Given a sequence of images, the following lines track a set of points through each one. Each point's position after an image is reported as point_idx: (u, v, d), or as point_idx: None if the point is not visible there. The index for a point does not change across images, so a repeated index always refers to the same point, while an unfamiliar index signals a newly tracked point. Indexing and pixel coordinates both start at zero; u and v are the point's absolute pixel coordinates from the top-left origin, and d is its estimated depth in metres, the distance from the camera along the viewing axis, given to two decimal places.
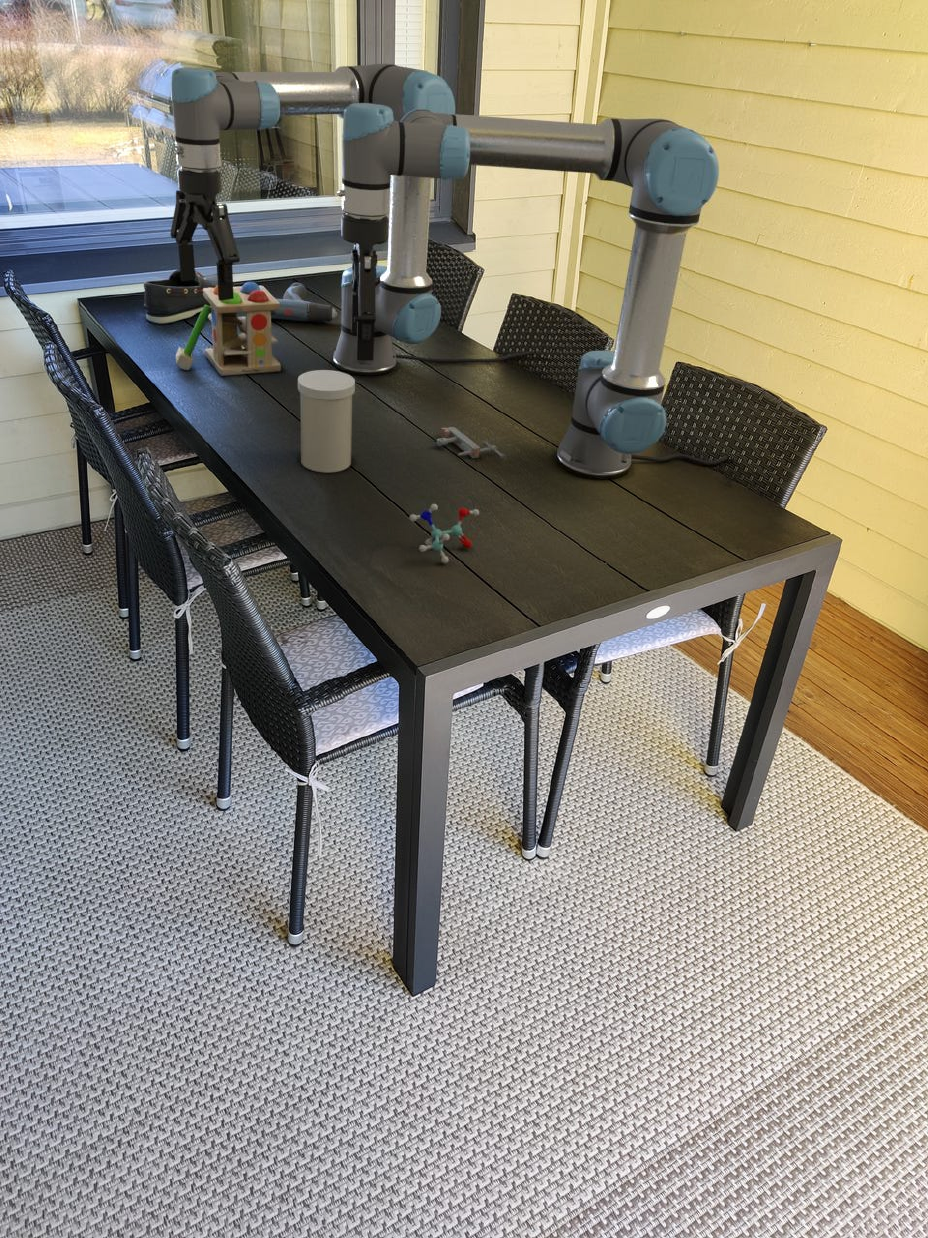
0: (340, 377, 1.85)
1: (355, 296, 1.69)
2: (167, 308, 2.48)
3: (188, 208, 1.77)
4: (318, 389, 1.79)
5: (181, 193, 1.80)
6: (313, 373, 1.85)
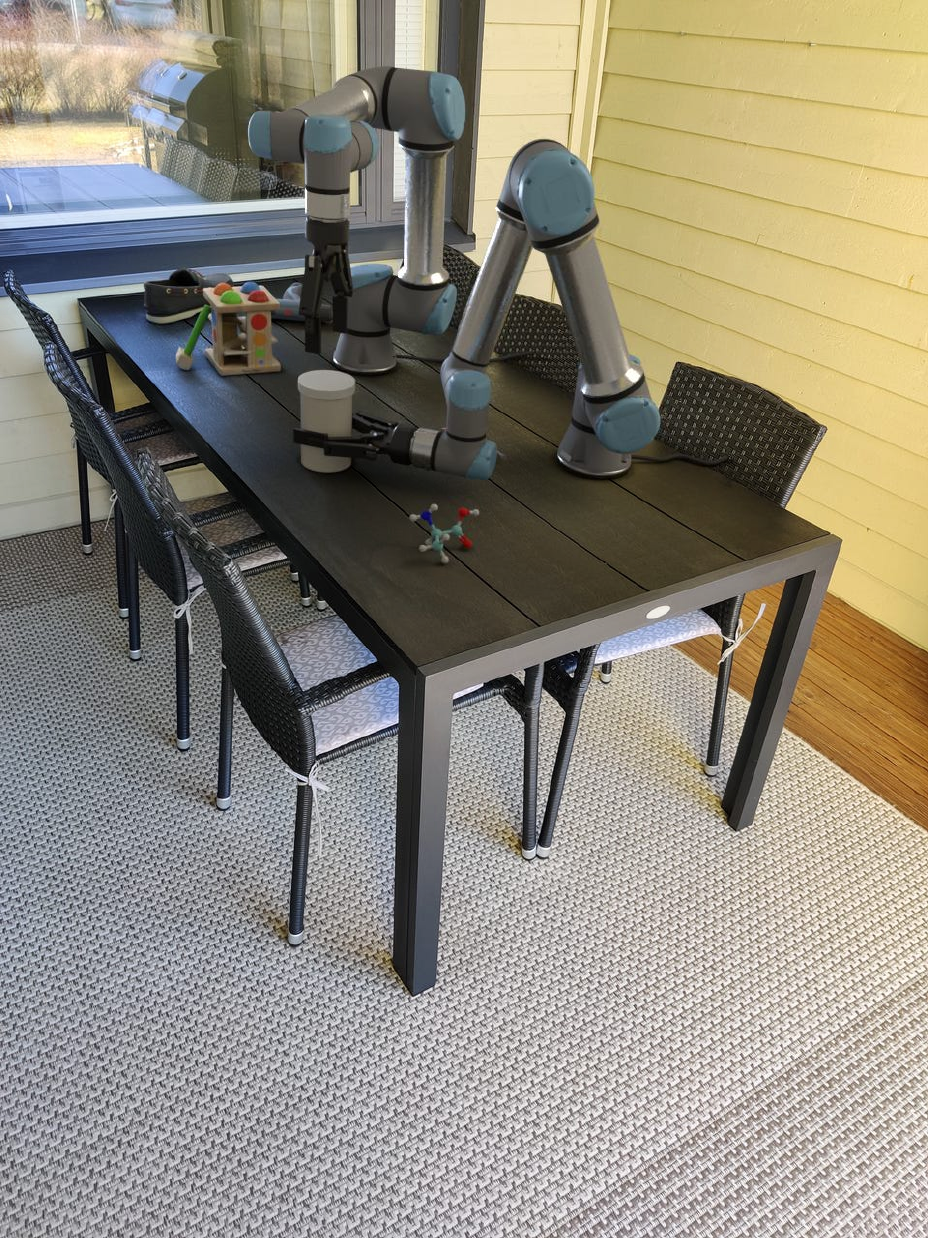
0: (340, 377, 1.85)
1: None
2: (167, 308, 2.48)
3: None
4: (318, 389, 1.79)
5: None
6: (313, 373, 1.85)
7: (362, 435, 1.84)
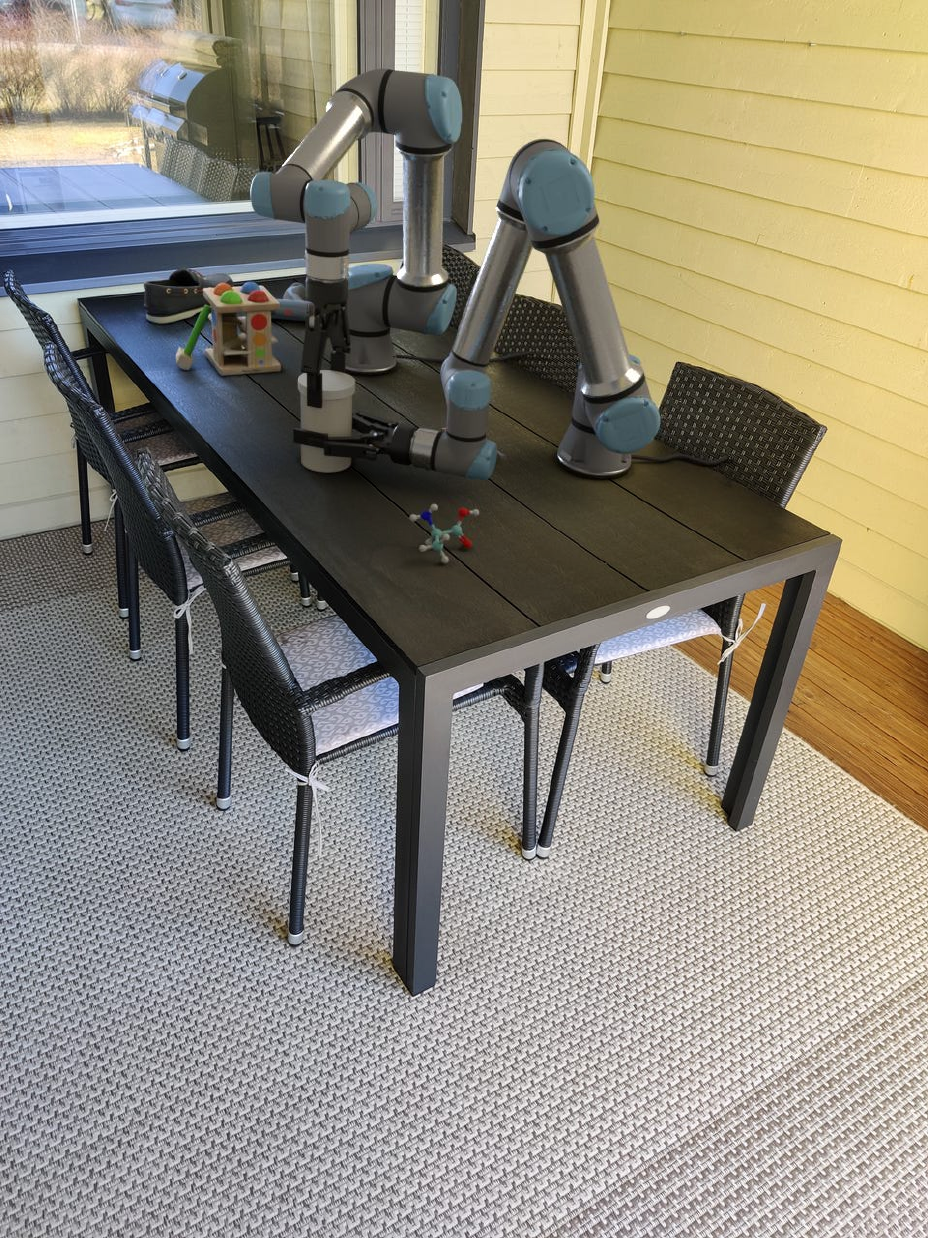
0: (340, 377, 1.85)
1: None
2: (167, 308, 2.48)
3: None
4: None
5: None
6: None
7: (362, 435, 1.84)
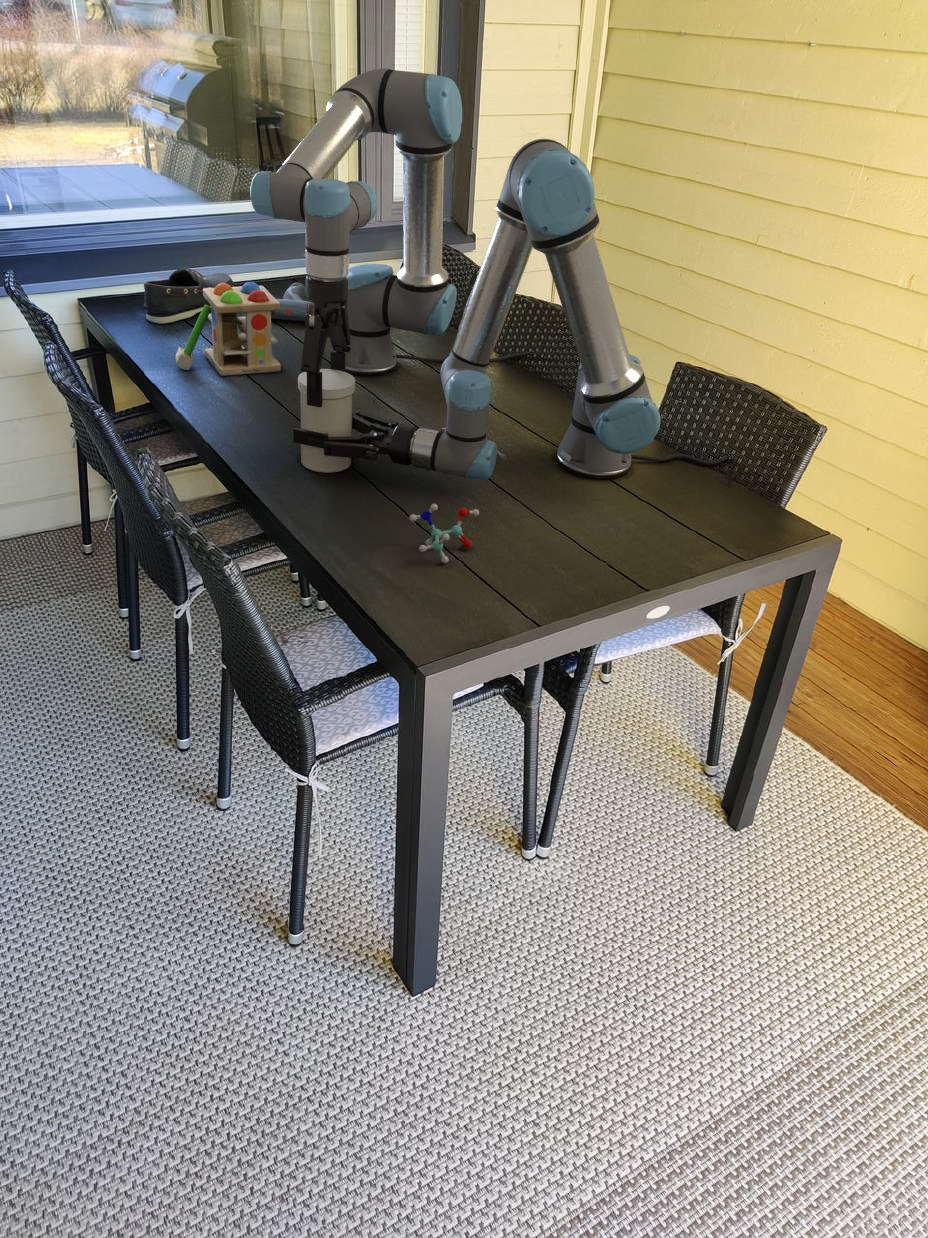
0: None
1: None
2: (167, 308, 2.48)
3: None
4: (350, 375, 1.85)
5: None
6: (323, 386, 1.80)
7: (362, 435, 1.84)
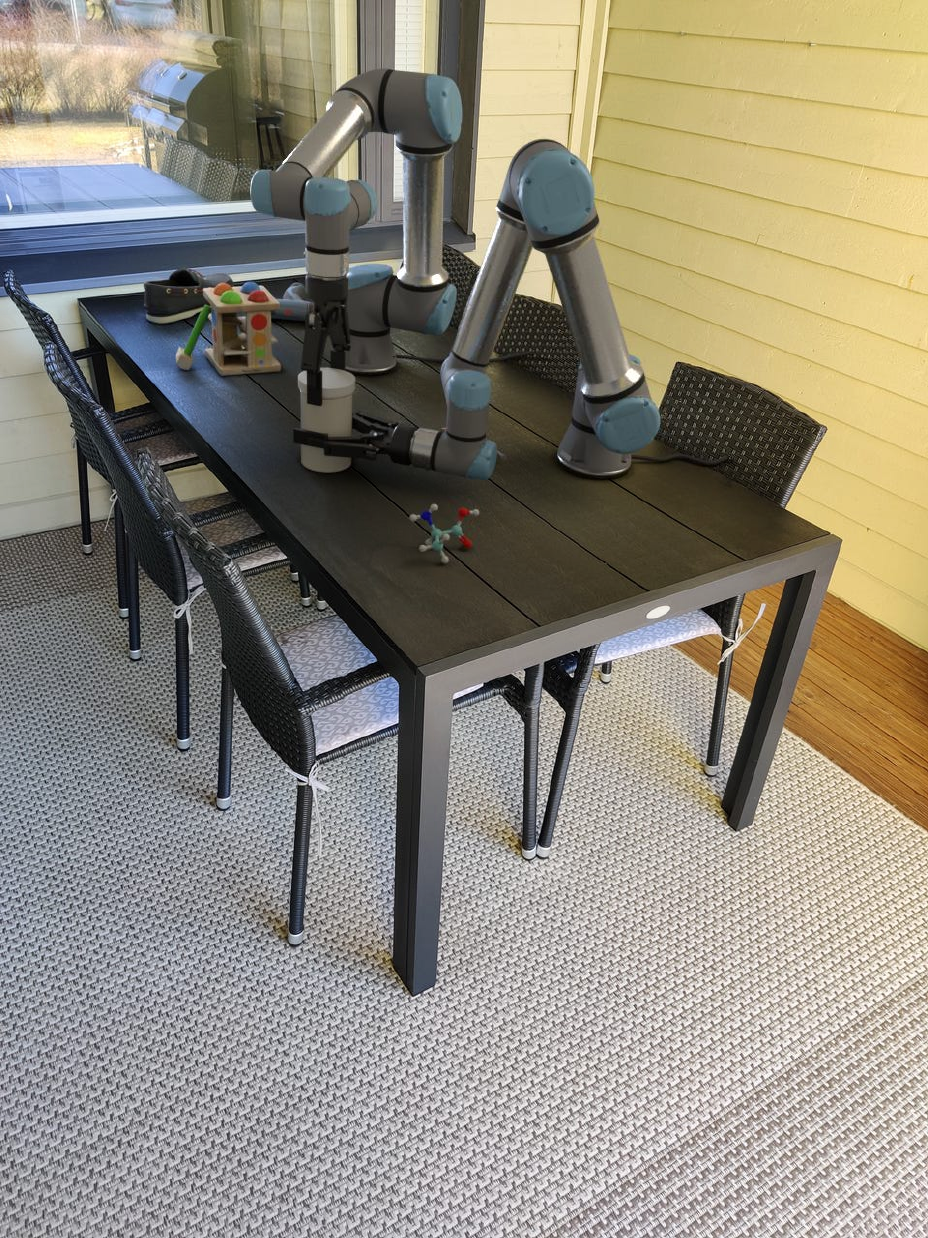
0: (334, 383, 1.81)
1: None
2: (167, 308, 2.48)
3: None
4: (301, 373, 1.84)
5: None
6: (344, 374, 1.85)
7: (362, 435, 1.84)
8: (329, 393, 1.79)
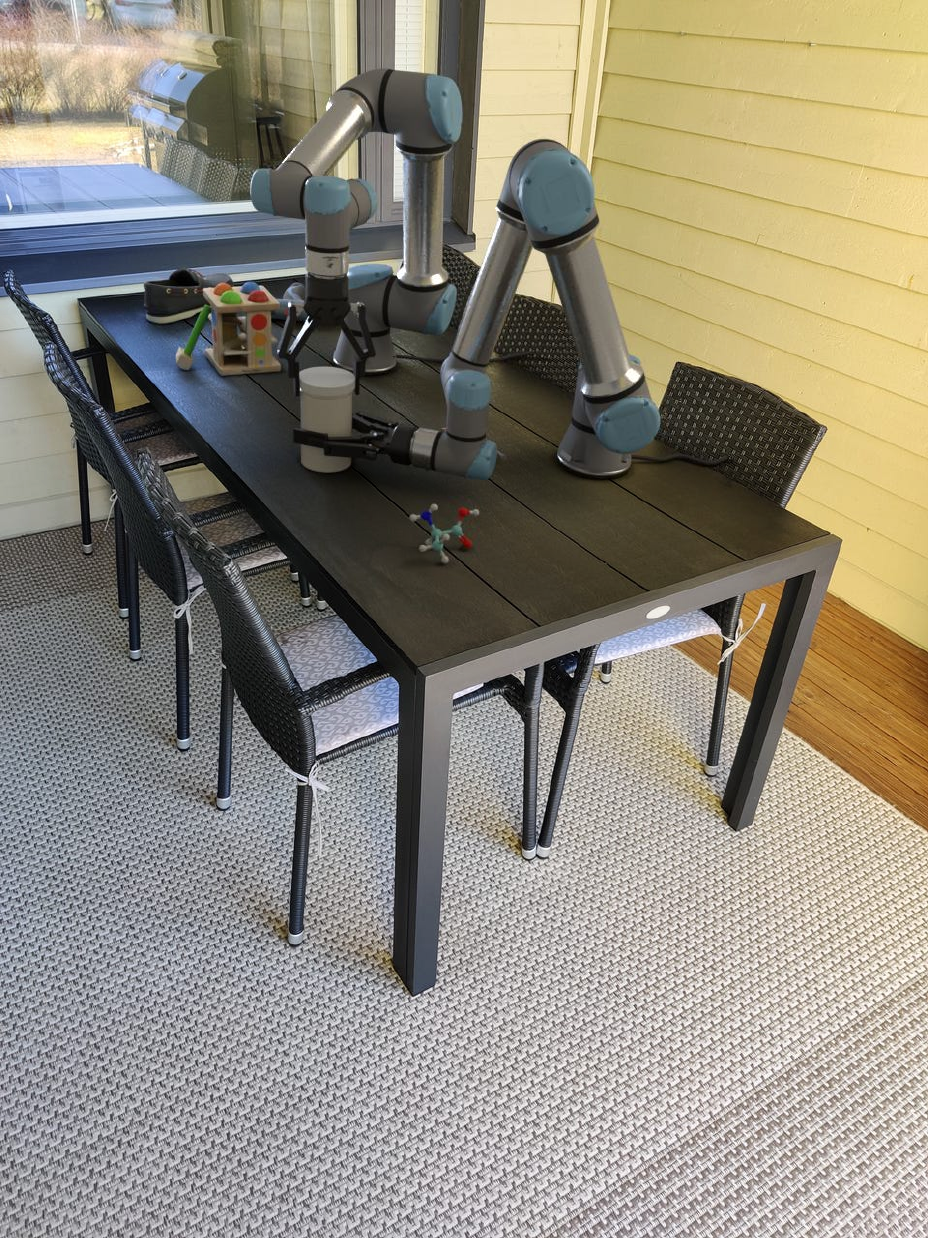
0: (334, 371, 1.85)
1: None
2: (167, 308, 2.48)
3: (322, 315, 1.74)
4: (331, 386, 1.79)
5: (295, 306, 1.73)
6: (307, 372, 1.84)
7: (362, 435, 1.84)
8: None
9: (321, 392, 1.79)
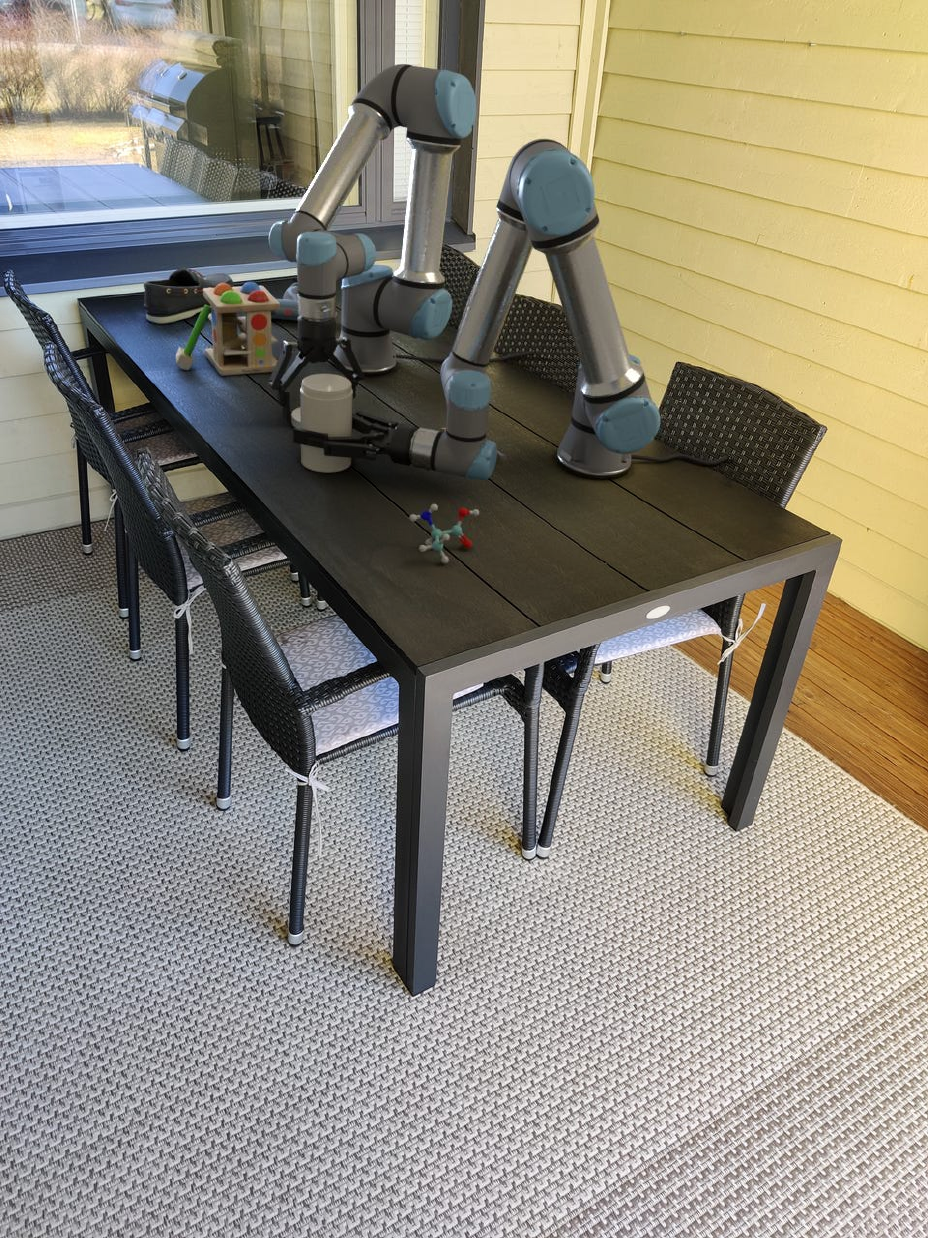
0: None
1: None
2: (167, 308, 2.48)
3: (314, 353, 1.97)
4: None
5: None
6: (298, 412, 2.07)
7: (362, 435, 1.84)
8: None
9: None
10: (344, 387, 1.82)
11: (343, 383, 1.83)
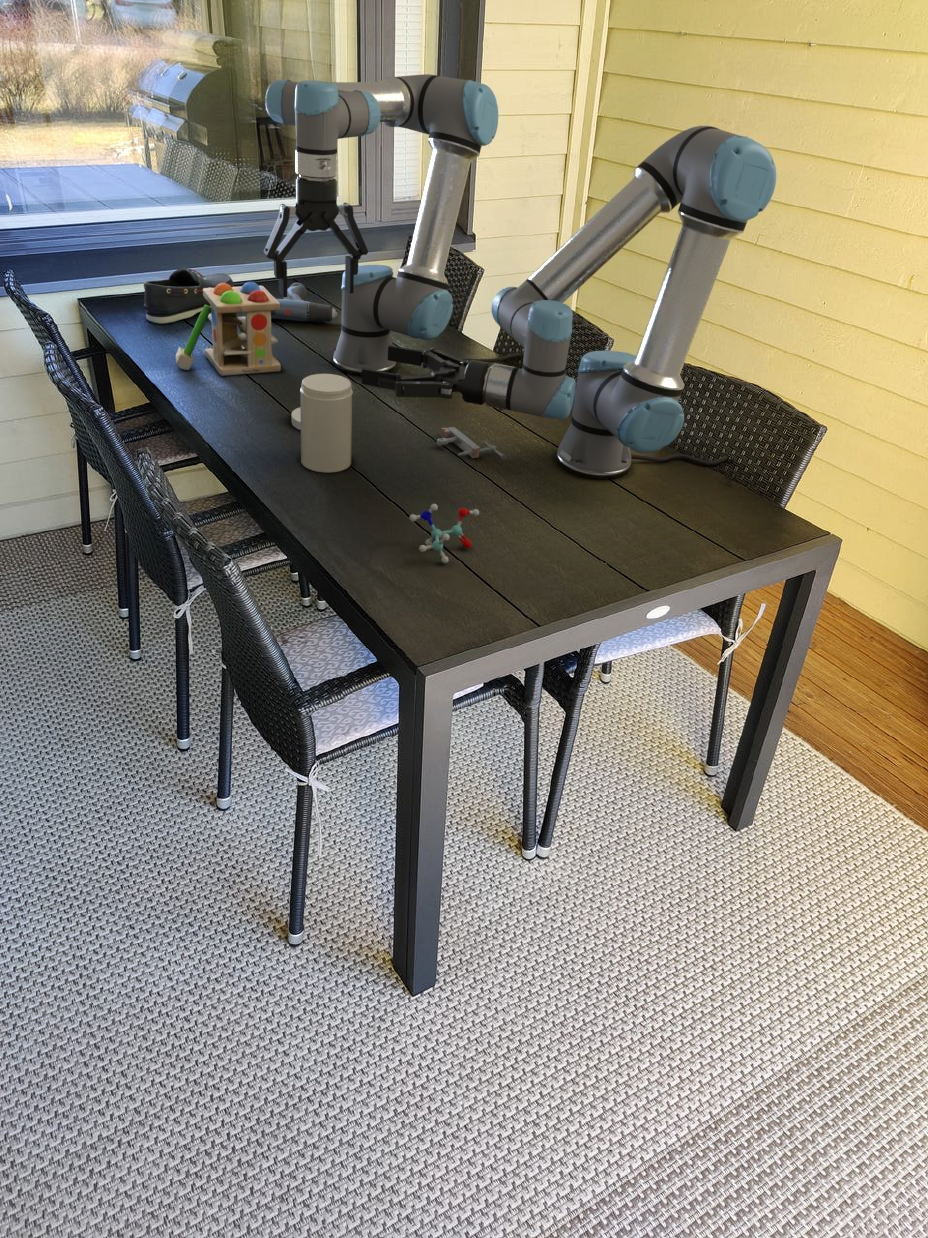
0: None
1: None
2: (167, 308, 2.48)
3: (313, 218, 1.82)
4: None
5: (288, 208, 1.81)
6: (298, 412, 2.07)
7: (434, 373, 1.73)
8: None
9: None
10: (344, 387, 1.82)
11: (343, 383, 1.83)
